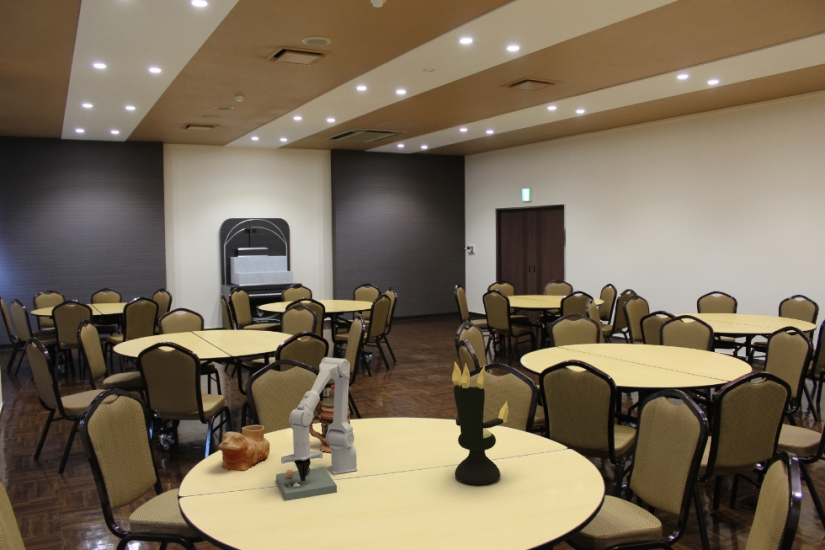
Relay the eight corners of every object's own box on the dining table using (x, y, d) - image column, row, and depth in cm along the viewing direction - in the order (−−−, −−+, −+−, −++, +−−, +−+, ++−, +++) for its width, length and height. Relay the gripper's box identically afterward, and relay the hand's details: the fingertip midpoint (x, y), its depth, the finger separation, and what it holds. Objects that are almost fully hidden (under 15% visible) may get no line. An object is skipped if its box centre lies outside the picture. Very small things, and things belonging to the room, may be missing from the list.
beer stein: (359, 451, 281) (328, 440, 292) (367, 387, 281) (336, 378, 291) (333, 458, 268) (302, 446, 278) (341, 390, 267) (310, 381, 278)
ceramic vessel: (209, 472, 253) (207, 434, 252) (250, 451, 277) (248, 416, 276) (238, 476, 248) (237, 438, 247) (277, 454, 272) (276, 419, 271)
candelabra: (510, 473, 245) (508, 354, 242) (492, 494, 225) (490, 365, 222) (463, 466, 253) (461, 351, 250) (441, 487, 233) (438, 362, 230)
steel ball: (294, 488, 234) (300, 481, 234) (298, 494, 232) (305, 487, 232) (289, 486, 231) (295, 479, 232) (294, 492, 229) (300, 485, 230)
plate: (323, 473, 249) (323, 467, 249) (336, 492, 230) (336, 485, 230) (276, 480, 242) (276, 474, 242) (285, 500, 224) (285, 493, 224)
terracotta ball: (293, 475, 240) (292, 467, 240) (294, 478, 237) (294, 470, 237) (284, 477, 239) (284, 469, 239) (286, 480, 236) (286, 471, 236)
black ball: (309, 472, 243) (308, 463, 243) (311, 475, 240) (310, 466, 240) (300, 473, 242) (299, 464, 242) (301, 476, 239) (301, 467, 239)
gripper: (283, 448, 226) (284, 487, 226) (324, 443, 231) (325, 480, 232) (279, 442, 232) (280, 480, 233) (319, 437, 237) (320, 474, 238)
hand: (302, 480), depth 233 cm, fingers closed
